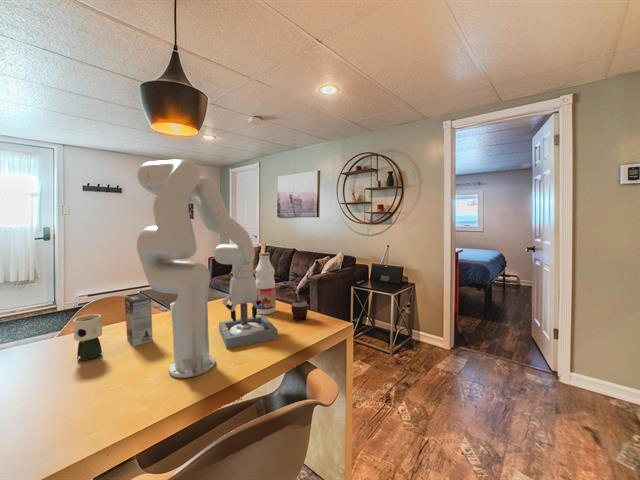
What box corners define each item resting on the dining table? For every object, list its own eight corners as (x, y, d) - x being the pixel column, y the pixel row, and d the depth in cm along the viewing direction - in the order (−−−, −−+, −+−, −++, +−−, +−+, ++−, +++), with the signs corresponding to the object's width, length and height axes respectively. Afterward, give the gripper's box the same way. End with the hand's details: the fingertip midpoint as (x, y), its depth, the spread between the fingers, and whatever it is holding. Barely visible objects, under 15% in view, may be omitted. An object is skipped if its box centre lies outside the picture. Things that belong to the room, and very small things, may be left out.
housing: (277, 338, 107) (277, 329, 107) (226, 349, 99) (226, 338, 99) (264, 323, 123) (263, 314, 123) (219, 331, 115) (218, 321, 115)
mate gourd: (304, 323, 123) (303, 287, 122) (287, 321, 126) (286, 286, 125) (310, 317, 130) (310, 284, 129) (294, 315, 133) (293, 283, 132)
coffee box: (126, 339, 107) (123, 296, 106) (145, 334, 112) (143, 293, 111) (133, 347, 101) (131, 301, 100) (154, 341, 106) (151, 297, 105)
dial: (268, 334, 108) (267, 309, 107) (233, 340, 102) (232, 315, 102) (259, 323, 119) (258, 301, 119) (227, 328, 114) (226, 305, 113)
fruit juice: (279, 311, 139) (278, 252, 137) (264, 316, 132) (263, 254, 130) (266, 307, 145) (265, 251, 143) (251, 312, 138) (249, 253, 136)
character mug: (66, 359, 92) (63, 319, 91) (90, 350, 99) (88, 312, 98) (89, 365, 88) (86, 323, 88) (113, 355, 95) (110, 316, 94)
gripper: (262, 270, 121) (263, 312, 122) (218, 274, 113) (219, 319, 115) (267, 273, 114) (268, 318, 116) (221, 278, 107) (222, 325, 108)
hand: (244, 318), depth 115 cm, fingers open, 7 cm apart
